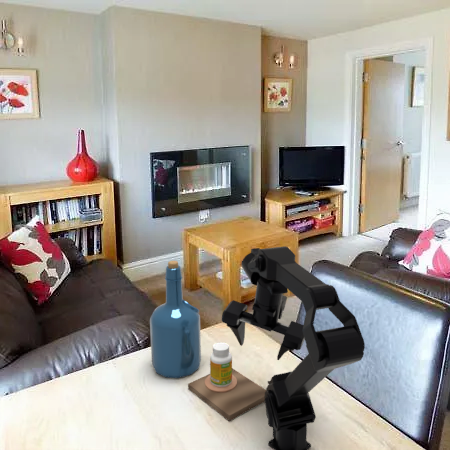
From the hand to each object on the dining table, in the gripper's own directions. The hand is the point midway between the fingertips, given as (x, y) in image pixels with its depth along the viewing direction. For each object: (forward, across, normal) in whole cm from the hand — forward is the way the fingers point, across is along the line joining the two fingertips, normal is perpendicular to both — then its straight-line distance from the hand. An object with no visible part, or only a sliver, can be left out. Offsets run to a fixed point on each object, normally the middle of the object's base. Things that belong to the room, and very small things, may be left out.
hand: (260, 351), depth 107 cm
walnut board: (+14, +5, +3) cm, 15 cm away
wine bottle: (+19, +23, -2) cm, 29 cm away
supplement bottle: (+13, +8, +2) cm, 15 cm away
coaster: (+13, +8, +2) cm, 16 cm away
